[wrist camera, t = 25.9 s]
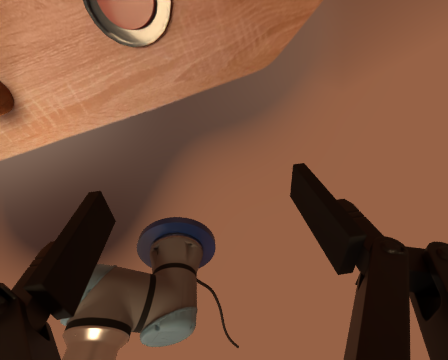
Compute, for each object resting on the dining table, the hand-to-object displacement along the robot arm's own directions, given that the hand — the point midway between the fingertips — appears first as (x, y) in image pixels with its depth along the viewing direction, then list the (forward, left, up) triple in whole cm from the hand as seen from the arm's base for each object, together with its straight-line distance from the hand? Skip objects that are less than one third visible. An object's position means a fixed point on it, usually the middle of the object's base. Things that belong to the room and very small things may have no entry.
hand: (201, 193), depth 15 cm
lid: (+14, +8, -28) cm, 32 cm away
